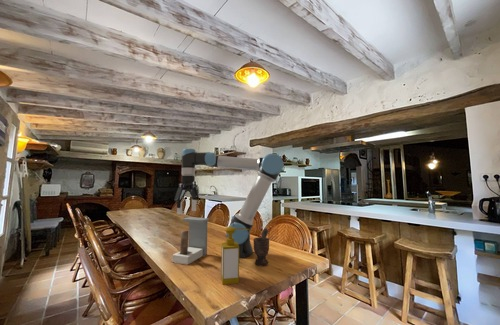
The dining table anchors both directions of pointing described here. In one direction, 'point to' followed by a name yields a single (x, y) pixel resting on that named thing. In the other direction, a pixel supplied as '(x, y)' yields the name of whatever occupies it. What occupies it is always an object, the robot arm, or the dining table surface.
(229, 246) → the soap bottle
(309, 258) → the dining table surface
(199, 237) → the stand
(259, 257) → the mortar and pestle
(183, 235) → the walnut dowel
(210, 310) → the dining table surface
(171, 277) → the dining table surface
